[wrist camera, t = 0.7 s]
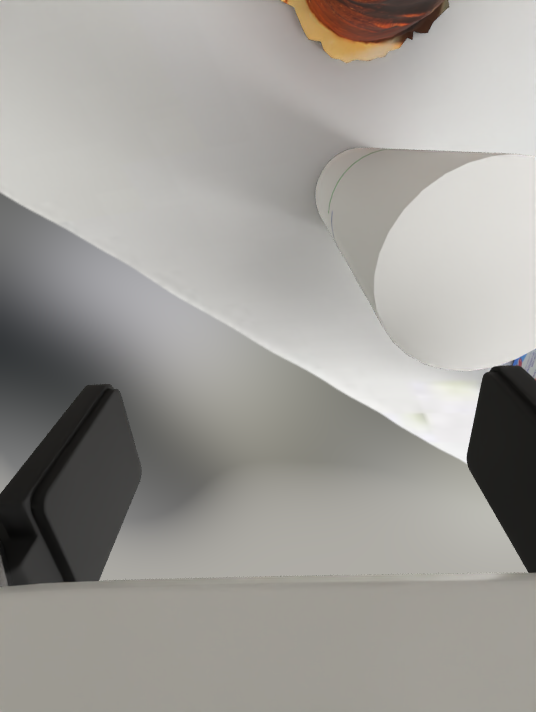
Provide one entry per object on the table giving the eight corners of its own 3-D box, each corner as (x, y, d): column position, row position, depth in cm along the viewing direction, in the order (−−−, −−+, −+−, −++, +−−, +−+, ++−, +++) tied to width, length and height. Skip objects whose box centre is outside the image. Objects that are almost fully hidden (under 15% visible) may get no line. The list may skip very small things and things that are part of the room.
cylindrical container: (320, 241, 37) (379, 383, 15) (310, 156, 34) (366, 179, 12) (399, 228, 37) (582, 356, 15) (396, 139, 34) (626, 130, 11)
